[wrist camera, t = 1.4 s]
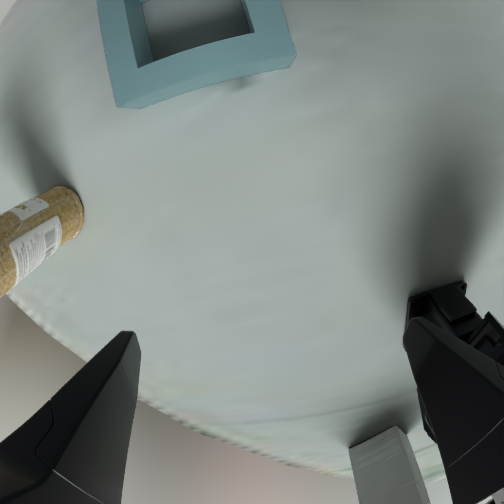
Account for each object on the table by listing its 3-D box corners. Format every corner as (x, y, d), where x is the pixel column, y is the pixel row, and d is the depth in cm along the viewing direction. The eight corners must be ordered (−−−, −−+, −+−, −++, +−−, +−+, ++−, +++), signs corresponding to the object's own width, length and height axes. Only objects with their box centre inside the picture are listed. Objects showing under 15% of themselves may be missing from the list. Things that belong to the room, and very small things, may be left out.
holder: (289, 67, 15) (296, 55, 12) (140, 109, 16) (116, 107, 13) (251, -46, 11) (250, -71, 8) (116, -3, 12) (94, -19, 9)
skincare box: (363, 456, 35) (379, 536, 21) (344, 446, 33) (360, 539, 19) (410, 433, 33) (435, 514, 19) (397, 421, 31) (425, 516, 16)
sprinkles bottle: (59, 173, 18) (-79, 240, 6) (95, 211, 19) (-33, 311, 7) (38, 213, 20) (-77, 293, 7) (71, 249, 21) (-34, 352, 9)
